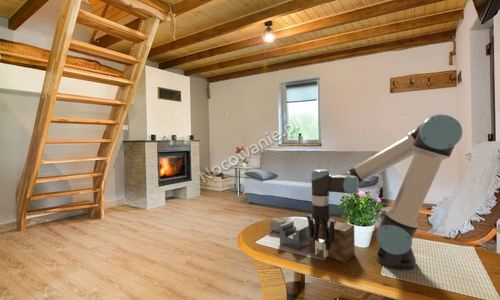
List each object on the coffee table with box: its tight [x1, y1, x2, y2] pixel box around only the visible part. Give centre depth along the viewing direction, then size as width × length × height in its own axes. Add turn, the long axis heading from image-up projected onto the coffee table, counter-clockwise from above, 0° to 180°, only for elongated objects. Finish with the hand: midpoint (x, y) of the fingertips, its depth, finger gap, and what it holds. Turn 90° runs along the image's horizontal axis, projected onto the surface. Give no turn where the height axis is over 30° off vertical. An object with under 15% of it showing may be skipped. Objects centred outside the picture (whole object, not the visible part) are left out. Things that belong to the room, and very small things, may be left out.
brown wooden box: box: [309, 220, 355, 263], centre depth 124 cm, size 18×10×14 cm, turn 46°
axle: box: [315, 235, 331, 250], centre depth 121 cm, size 4×16×4 cm, turn 136°
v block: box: [279, 220, 310, 251], centre depth 135 cm, size 12×10×10 cm
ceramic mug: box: [269, 217, 287, 234], centre depth 155 cm, size 11×8×8 cm
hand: (321, 254), depth 117 cm, fingers closed on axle, 3 cm apart
